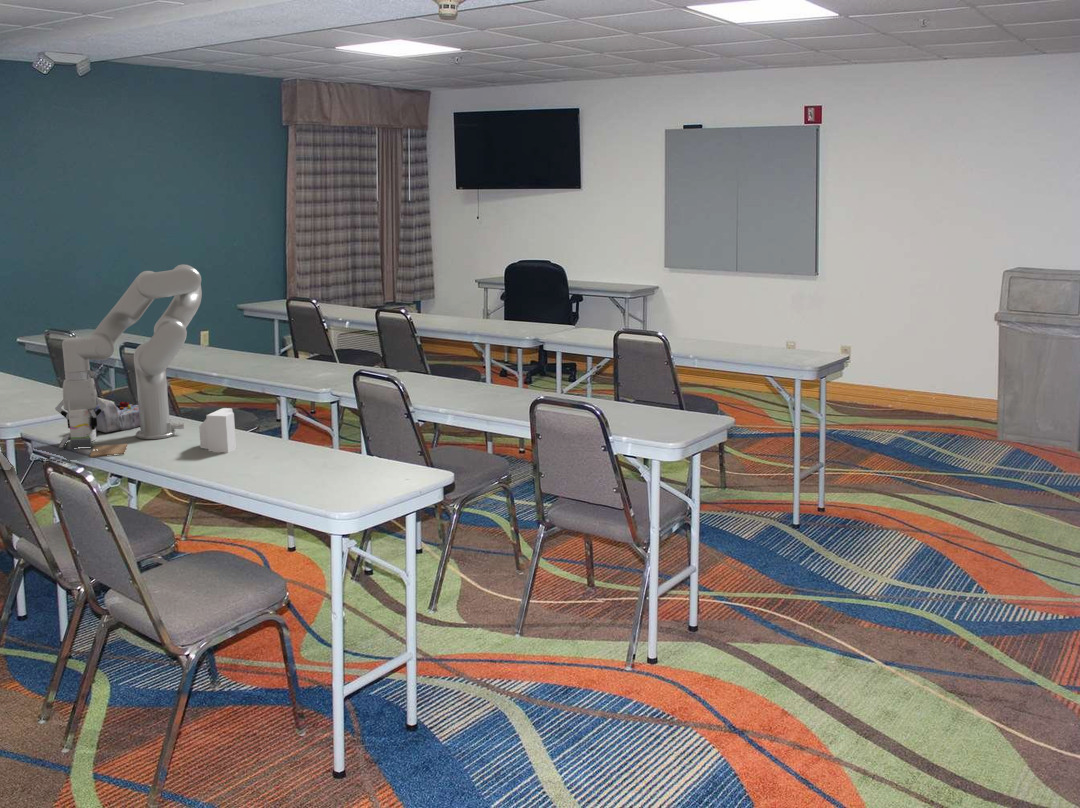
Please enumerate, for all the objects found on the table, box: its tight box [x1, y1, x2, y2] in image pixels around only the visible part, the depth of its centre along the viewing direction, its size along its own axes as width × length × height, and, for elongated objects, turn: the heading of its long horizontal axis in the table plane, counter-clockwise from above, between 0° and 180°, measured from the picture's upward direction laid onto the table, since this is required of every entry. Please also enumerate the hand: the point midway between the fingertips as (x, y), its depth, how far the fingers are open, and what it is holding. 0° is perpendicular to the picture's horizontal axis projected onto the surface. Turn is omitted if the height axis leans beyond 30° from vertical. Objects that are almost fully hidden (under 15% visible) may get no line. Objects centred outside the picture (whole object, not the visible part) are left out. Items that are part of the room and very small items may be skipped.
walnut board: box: [89, 443, 128, 458], centre depth 336 cm, size 10×12×1 cm
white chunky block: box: [198, 407, 237, 454], centre depth 339 cm, size 11×11×12 cm
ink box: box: [67, 401, 97, 442], centre depth 345 cm, size 9×5×15 cm, turn 179°
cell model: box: [95, 400, 140, 433], centre depth 366 cm, size 13×11×20 cm
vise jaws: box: [57, 428, 98, 451], centre depth 346 cm, size 10×17×3 cm, turn 16°
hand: (83, 429), depth 346 cm, fingers closed on ink box, 6 cm apart
